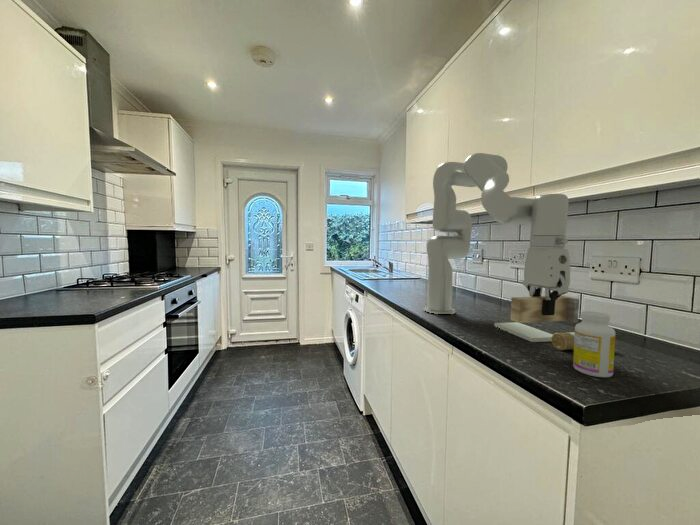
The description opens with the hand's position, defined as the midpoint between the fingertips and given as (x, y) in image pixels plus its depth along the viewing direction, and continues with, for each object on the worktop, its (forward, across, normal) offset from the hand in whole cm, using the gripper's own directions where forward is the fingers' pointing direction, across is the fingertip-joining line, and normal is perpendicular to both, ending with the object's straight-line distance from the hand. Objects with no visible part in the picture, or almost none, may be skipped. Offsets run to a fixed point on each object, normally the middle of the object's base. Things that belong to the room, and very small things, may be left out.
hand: (541, 312), depth 74 cm
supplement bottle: (+10, -14, 0) cm, 17 cm away
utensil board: (+10, +13, -7) cm, 18 cm away
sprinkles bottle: (+8, -1, -4) cm, 9 cm away
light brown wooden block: (+2, 0, 0) cm, 2 cm away
